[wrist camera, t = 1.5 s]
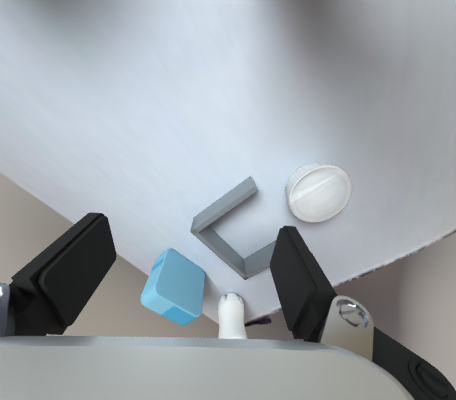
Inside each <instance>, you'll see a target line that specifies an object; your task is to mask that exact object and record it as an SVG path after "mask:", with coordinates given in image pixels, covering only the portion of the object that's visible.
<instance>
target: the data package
mask: <svg viewBox="0 0 456 400" xmlns="http://www.w3.org/2000/svg"><path fill="white" fill-rule="evenodd" d="M204 283H205V273H204V271H203V270H202V269H201V268H200V267H198V266H197V265H195V264H194V263H192V262H191V261H189V260H188V259H187V258H185V257H184V256H182V255H181V254H179V253H178V252H176V251H175V250H173V249H168V250H167V251H166V252H165V253H163V254H162V255H161V256H160V257H159V258H158V259H156V261H155V263H154V266H153V268H152V271H151V273H150V276H149V278H148V280H147V283H146V285H145V288H144V290H143V293H142V295H141V302H142V304H143V306H145V307H146V308H148V309H150V310H153V311H154V312H156V313H158V314H160V315H162V316H164V317H166V318H168V319H170V320H172V321H174V322H176V323H178V324H180V325H183V326H184V325H186V324H188V323H189V322H191V321H193V320H194V319H196V318H197V317H199V316H200V315H201V313H202V304H203V293H204Z"/></svg>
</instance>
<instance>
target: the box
mask: <svg viewBox="0 0 456 400" xmlns="http://www.w3.org/2000/svg"><path fill="white" fill-rule="evenodd" d="M257 191H258V190H257V187H256V185H255V183H254V180H253V179H252V178H251V176H250V177H249V178H247V179H246V180H245V181H243V182H242V183H240V184H239V185H238V186H236V187H235V188H234V189H232V190H231V191H230V192H228V193H227V194H225V195H224V196H223V197H221V198H220V199H219V200H217V201H216V202H214V203H213V204H212V205H210V206H209V207H208V208H206V209H205V210H204V211H202V212H201V213H199V214H198V215H197V216H195V217H194V219H193V223H192V227H191V233H192V234H193V235H194V236H196V237H197V238H198V239H199V240H200V241H201V242H202V243H204V244H205V245H206V246H207V247H208V248H209V249H210V250H211V251H213V252H214V253H215V254H216V255H217V256H218V257H219V258H221V259H222V260H223V261H224V262H225V263H226V264H227V265H229V266H230V267H231V268H232V269H233V270H234V271H235V272H236V273H238V274H239V275H240V276H241V277H242V278H243V279H244V280H247V279H248V278H250V277H252V276H254V275H256V274H257V273H259V272H261V271H263V270H265V269H266V268H268V267H270V261H271V257H272V254H273V251H274V247H275V244H276V241H274V242H272V243H271V244H269V245H267V246H266V247H264V248H262V249H260V250H259V251H257V252H255V253H254V254H252V255H250V256H249V257H247V258H245V259H243V258H242V257H241V256H240V255H239V254H238V253H237V252H236V251H234V250H233V249H232V248H231V247H230V246H229V245H228V244H227V243H226V242H225V241H224V240H223V239H222V238H221V237H220V236H219V235H218V234H217V233H216V232H215V231H213V230H212V229H211V228H210V227H209V226H208V225H209V224H211V223H212V222H214V221H215V220H216V219H218V218H219V217H221V216H222V215H224V214H225V213H227V212H228V211H229V210H231V209H232V208H234V207H235V206H237V205H238V204H239V203H241V202H242V201H244V200H245V199H247V198H248V197H250V196H251V195H252V194H254V193H255V192H257Z"/></svg>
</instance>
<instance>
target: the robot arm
mask: <svg viewBox="0 0 456 400" xmlns="http://www.w3.org/2000/svg"><path fill="white" fill-rule="evenodd" d="M115 260H116V251H115V247H114V242H113V238H112V234H111V230H110V226H109V222H108V218H107V217H106V216H104V214H102V213H88V214H87V215H86V216H84V217H83V218H82V219H81V220H80V221H78V222H77V223H76V224H75V225H74V226H72V227H71V228H70V229H69V230H68V231H66V232H65V233H64V234H63V235H62V236H61V237H59V238H58V239H57V240H56V241H54V242H53V243H52V244H51V245H50V246H49V247H47V248H46V249H45V250H44V251H43V252H41V253H40V254H39V255H38V256H37V257H35V258H34V259H33V260H32V261H31V262H29V263H28V264H27V265H26V266H25V267H23V268H22V269H21V270H20V271H19V272H17V273H16V274H15V275H14V276H13V277H11V278H12V279H13V282H12V283H11V284H9V285H7V284H5V283H0V400H456V391H455V389H454V387H453V386H452V385H451V383H450V382H449V381H448V380H447V379H446V377H445V376H444V375H443V374H442V373H441V372H440V371H439V370H437V369H436V368H435V367H434V366H432V365H431V364H430V363H428V362H427V361H425V360H424V359H422V358H421V357H419V356H418V355H416V354H415V353H413V352H412V351H410V350H409V349H407V348H406V347H404V346H403V345H401V344H400V343H398V342H397V341H395V340H394V339H392V338H390V337H389V336H388V335H386V334H384V333H383V332H382V331H380V330H378V329H377V328H376V327H374V324H373V320H372V317H371V315H370V314H369V313H368V311H367V310H366V309H365V308H364V307H363V306H362V305H361V304H360V303H358V302H357V301H355V300H353V299H351V298H349V297H346V296H337V294H336V293H335V291H334V289H333V288H332V286H331V284H330V283H329V281H328V279H327V278H326V276H325V274H324V273H323V271H322V269H321V268H320V266H319V264H318V263H317V261H316V259H315V258H314V256H313V254H312V253H311V252H310V251H309V249H308V247H307V246H306V244H305V242H304V241H303V239H302V237H301V236H300V234H299V232H298V230H297V229H296V227H294V226H284V227H283V228H280V230H279V234H278V237H277V240H276V244H275V247H274V251H273V254H272V257H271V261H270V269H271V273H272V276H273V280H274V283H275V286H276V290H277V293H278V297H279V300H280V303H281V307H282V310H283V314H284V317H285V320H286V324H287V327H288V329H289V331H292V333H293V336H294V339H303V340H304V341H286V340H264V339H262V340H261V339H222V338H172V337H170V338H169V337H108V336H106V337H105V336H46V334H47V333H48V334H57V335H62V334H63V333H64V331H65V330H66V328H67V327H68V326H70V325H72V324H73V323H74V321H75V320H76V318H77V317H78V315H79V313H80V312H81V311H82V309H83V308H84V306H85V305H86V303H87V302H88V300H89V299H90V297H91V296H92V294H93V293H94V291H95V290H96V288H97V287H98V285H99V284H100V282H101V281H102V279H103V278H104V277H105V275H106V273H107V272H108V270H109V269H110V268H111V266H112V264H113V263H114V262H115Z"/></svg>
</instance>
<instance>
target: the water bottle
mask: <svg viewBox="0 0 456 400" xmlns="http://www.w3.org/2000/svg"><path fill="white" fill-rule="evenodd" d="M218 314H219V323H220V327H219V337H218V338H222V339H248V338H247V336H246V332H245V327H244V304H243V301H242V299H241V297H239V296H237V295H236V294H235V293H229V294H228V296H227V297H226V296H225V295H223V296H222V297H221V299H220V301H219V304H218Z"/></svg>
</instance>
